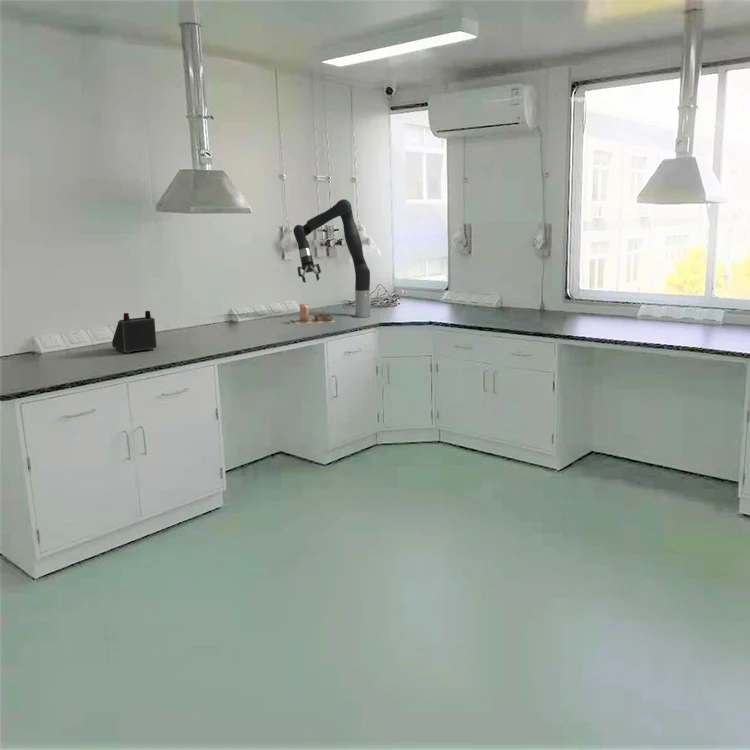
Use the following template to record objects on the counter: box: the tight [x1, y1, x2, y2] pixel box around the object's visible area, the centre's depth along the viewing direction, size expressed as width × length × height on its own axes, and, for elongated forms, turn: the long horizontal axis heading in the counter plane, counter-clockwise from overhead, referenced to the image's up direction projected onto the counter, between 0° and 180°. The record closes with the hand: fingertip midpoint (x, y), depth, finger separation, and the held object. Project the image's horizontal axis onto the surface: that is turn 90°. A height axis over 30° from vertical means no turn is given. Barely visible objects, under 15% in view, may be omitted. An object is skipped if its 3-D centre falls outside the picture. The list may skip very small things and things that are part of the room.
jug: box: [299, 303, 310, 321], centre depth 423 cm, size 5×8×10 cm
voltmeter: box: [111, 310, 158, 355], centre depth 345 cm, size 16×16×20 cm
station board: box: [292, 313, 336, 325], centre depth 427 cm, size 24×14×4 cm, turn 108°
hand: (311, 281), depth 437 cm, fingers open, 8 cm apart
